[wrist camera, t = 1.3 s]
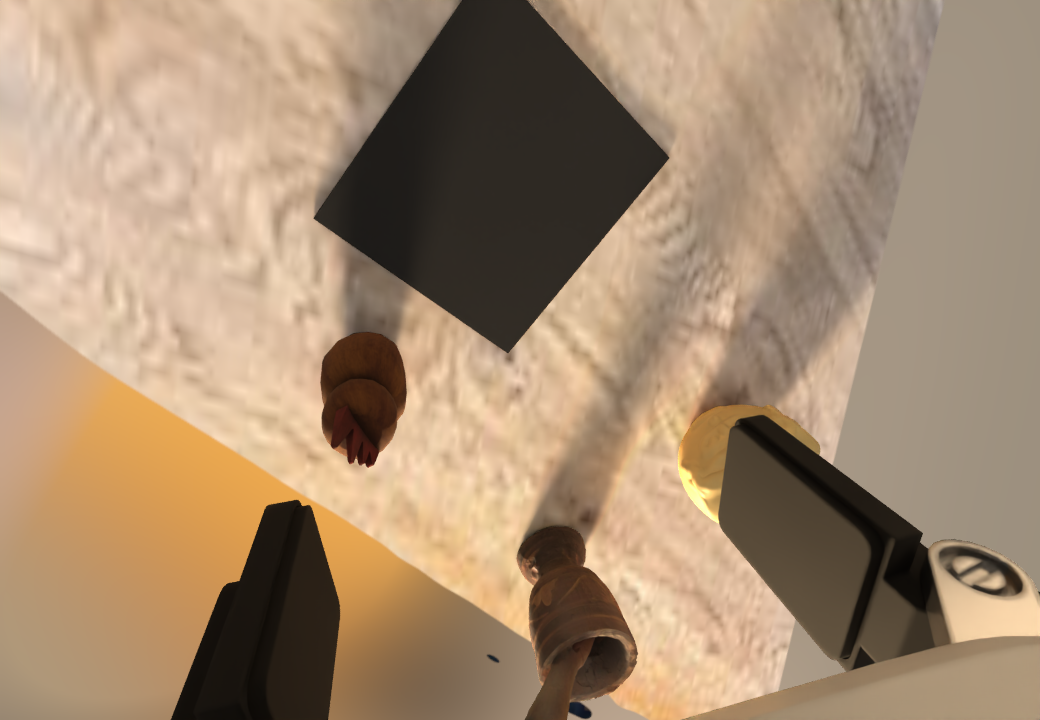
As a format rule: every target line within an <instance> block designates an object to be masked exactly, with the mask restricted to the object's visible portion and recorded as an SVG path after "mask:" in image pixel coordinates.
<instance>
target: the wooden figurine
mask: <svg viewBox="0 0 1040 720" xmlns="http://www.w3.org/2000/svg"><path fill="white" fill-rule="evenodd" d="M320 383H321V391H322V399H323V403H324V409H323V412H322V430H323V433H324V436H325V438H326V440H327V442H328V443H329V444H330V445H331V447H332V448H333V449H335V450H336V451H338V452H339V453H341V454H343V455H345V456H347V458H348V462H349V464H352V463H354V460H355V459H358V464H359V465H362V464H364V463H365V464H366V466H367V467H368V468H369V467H371V466H373V465H374V463H375V461H376V459H377V456H378V454H379V452H381V451H383V449H384V448H385V447H386V446H387V445H388V444H389V442H390V441H391V440H392V438H393V436H394V433H395V430H396V427H397V420H398V419H399V418H400V416H401V415H402V414H403V412H404V409H405V403H406V394H407V391H406V377H405V370H404V366H403V361H402V358H401V355H400V353H399V350H398V348H397V346H396V344H395V343H394V342H392V341H391V340H389V339H388V338H386V337H384V336H383V335H381V334H376V333H370V332H363V333H354V334H352V335H350V336H348V337H345V338H343V339H341V340H339V341H338V342H337V343H336V344H335V345H334V346H333V347H332V349H331V350H330V351H329V352H328V353H327V354H326V355H325V357H324V359H323V362H322V372H321V382H320Z"/></svg>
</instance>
